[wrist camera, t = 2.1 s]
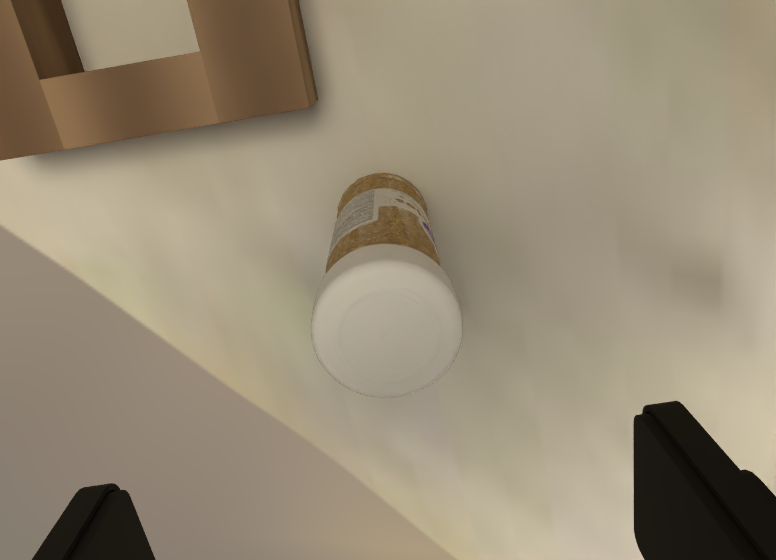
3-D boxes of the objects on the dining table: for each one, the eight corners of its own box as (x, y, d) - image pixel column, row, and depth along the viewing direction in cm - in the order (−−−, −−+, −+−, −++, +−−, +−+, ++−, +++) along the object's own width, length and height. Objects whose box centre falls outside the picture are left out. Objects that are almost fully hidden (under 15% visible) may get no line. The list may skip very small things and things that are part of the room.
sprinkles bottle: (443, 223, 30) (495, 349, 17) (373, 274, 31) (373, 429, 18) (389, 151, 29) (402, 231, 16) (316, 207, 29) (276, 325, 17)
